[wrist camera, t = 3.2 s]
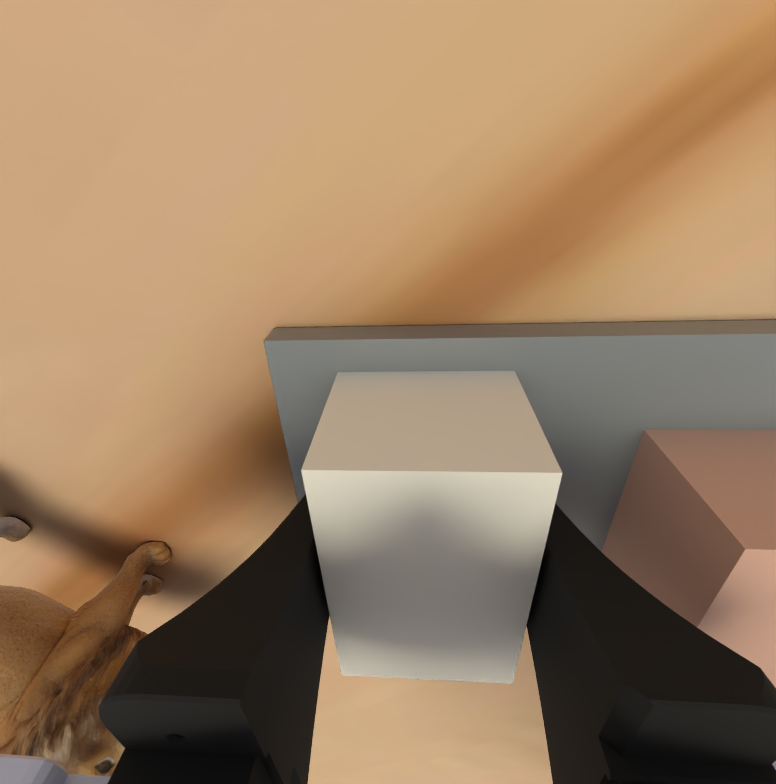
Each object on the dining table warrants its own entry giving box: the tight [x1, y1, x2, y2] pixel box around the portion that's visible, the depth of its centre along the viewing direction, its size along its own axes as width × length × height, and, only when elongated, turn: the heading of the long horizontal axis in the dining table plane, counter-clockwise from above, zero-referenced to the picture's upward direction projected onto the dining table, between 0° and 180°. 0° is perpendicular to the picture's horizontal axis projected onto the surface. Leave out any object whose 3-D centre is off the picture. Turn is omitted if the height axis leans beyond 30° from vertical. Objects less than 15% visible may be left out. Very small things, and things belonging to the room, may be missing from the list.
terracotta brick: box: [602, 430, 776, 688], centre depth 12 cm, size 8×5×4 cm, turn 2°
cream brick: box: [301, 371, 562, 684], centre depth 11 cm, size 8×5×4 cm, turn 2°
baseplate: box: [264, 320, 776, 552], centre depth 14 cm, size 12×18×1 cm, turn 92°
